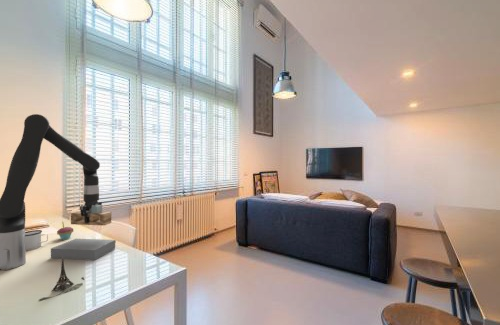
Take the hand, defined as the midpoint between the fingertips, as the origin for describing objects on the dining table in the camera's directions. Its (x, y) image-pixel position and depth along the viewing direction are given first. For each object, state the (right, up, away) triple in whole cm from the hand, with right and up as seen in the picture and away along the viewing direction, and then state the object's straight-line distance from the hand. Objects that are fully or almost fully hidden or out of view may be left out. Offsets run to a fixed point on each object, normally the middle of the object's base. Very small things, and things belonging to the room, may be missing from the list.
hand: (91, 221), depth 134 cm
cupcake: (-28, -15, +16) cm, 36 cm away
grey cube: (-3, +5, 0) cm, 6 cm away
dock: (+2, -15, -9) cm, 17 cm away
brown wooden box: (0, -1, 0) cm, 1 cm away
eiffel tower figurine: (+18, -16, -43) cm, 49 cm away
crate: (+3, +5, 0) cm, 6 cm away
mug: (-34, -15, +1) cm, 37 cm away
